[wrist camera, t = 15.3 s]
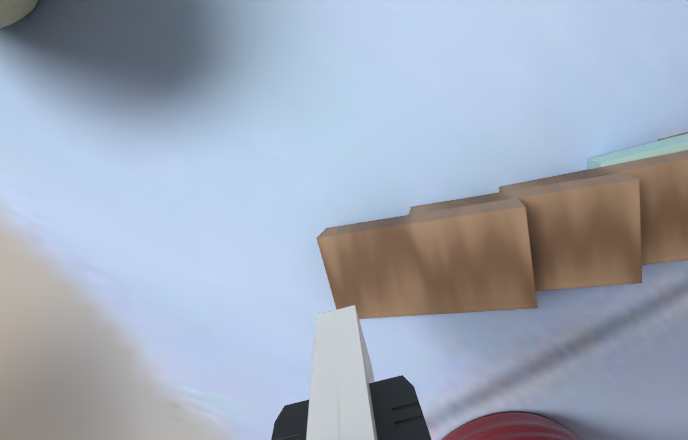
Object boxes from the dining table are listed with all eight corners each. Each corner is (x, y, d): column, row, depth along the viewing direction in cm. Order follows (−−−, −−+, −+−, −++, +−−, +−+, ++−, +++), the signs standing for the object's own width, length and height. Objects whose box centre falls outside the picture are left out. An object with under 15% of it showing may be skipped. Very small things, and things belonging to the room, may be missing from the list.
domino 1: (316, 238, 18) (525, 206, 15) (326, 228, 19) (518, 197, 16) (339, 319, 19) (537, 307, 16) (347, 304, 21) (529, 290, 17)
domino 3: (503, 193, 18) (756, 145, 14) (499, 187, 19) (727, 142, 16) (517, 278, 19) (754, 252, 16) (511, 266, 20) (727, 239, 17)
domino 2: (408, 215, 18) (639, 179, 15) (411, 207, 19) (621, 172, 16) (425, 298, 19) (641, 282, 16) (426, 285, 21) (625, 268, 17)
